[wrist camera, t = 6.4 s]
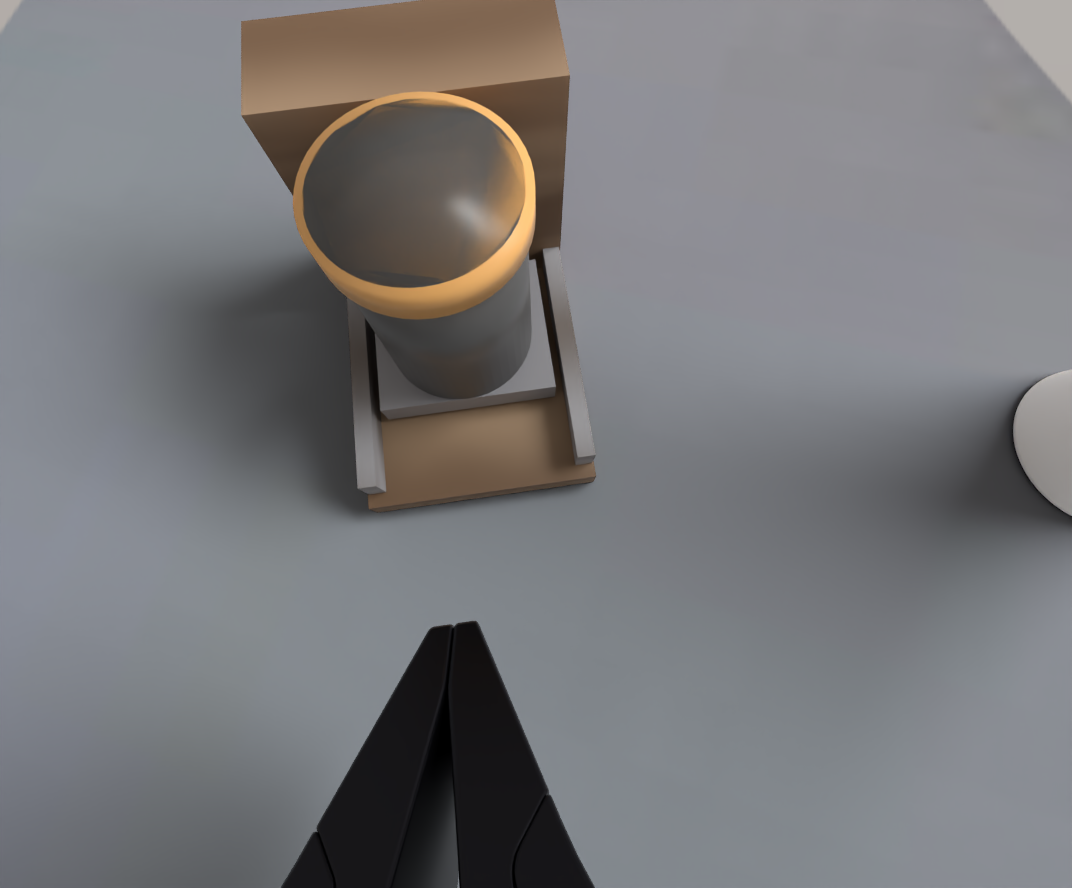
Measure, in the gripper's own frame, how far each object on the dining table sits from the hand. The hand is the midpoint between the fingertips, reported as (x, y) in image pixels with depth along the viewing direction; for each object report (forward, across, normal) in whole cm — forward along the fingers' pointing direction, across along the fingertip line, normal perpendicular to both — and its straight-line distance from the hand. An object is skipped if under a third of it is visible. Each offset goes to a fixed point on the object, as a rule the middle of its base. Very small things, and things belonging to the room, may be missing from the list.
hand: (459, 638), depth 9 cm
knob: (+12, 0, -1) cm, 13 cm away
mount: (+14, 0, -1) cm, 14 cm away
